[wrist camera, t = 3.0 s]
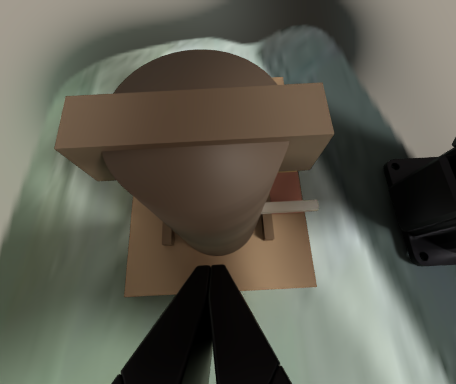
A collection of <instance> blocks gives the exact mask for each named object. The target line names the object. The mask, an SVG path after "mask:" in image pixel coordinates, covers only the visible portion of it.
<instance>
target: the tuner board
mask: <svg viewBox="0 0 456 384" xmlns="http://www.w3.org/2000/svg"><path fill="white" fill-rule="evenodd" d="M272 79H273V80H274V81H275V82H276V84H277V85H284V82H283V77H275V78H272ZM302 200H303V199H302V192H301V186H300V180H299V174H298V171H282V172H278V173H277V176H276V178H275V181H274V183H273V185H272V188H271V190H270V193H269V195H268V198H267V200H266V202H283V201H302ZM217 264H224V265H225V266H226V267H227V269H228V271H229V273H230V275H231V276H232V278H233V280H234V282H235V283H236V285H237V287H238V289H239V291H249V290H268V289H287V288H306V287H317V285H316V278H315V272H314V266H313V260H312V254H311V248H310V242H309V235H308V229H307V223H306V217H305V212H289V213H270V214H261V215H260V217H259V220H258V222H257V225H256V227H255V229H254V232H253V234H252V236H251V238H250V239H249V240H248V242H247V243H246V244H245V245H244V246H243V247H241V248H240V249H239V250H237V251H235V252H233V253H231V254H227V255H223V256H211V255H206V254H203V253H201V252H199V251H197V250H195V249H194V248H193V247H191V246H190V245H189V244H188V243H187V242H186V241H185V240H183V239H182V238H181V237H180V236H179V235H178V234H176V233H175V232H174V231H173V230H172V229H171V228H170V227H168V226H167V225H166V224H165V223H164V222H163V221H161V220H160V219H159V218H158V217H157V216H156V215H155V214H153V213H152V212H151V211H150V210H149V209H148V208H147V207H145V206H144V205H143V204H142V203H141V202H140V201H138V200H137V199H136V198H135V197H134V196H133V202H132V213H131V225H130V236H129V247H128V259H127V270H126V281H125V293H124V297H136V296H155V295H174V294H177V293H178V291H179V290H180V288H181V287H182V286H183V284H184V283H185V282H186V280H187V279H188V277H189V276H190V275H191V273H192V272H193V271H194V269H195V268H196V267H197V266H199V265H210V266H212V265H217Z"/></svg>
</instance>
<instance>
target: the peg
mask: <svg viewBox="0 0 456 384" xmlns="http://www.w3.org/2000/svg"><path fill="white" fill-rule="evenodd" d="M333 135H334V130H333V126H332V122H331V117H330V113H329V109H328V104H327V100H326V96H325V91H324V87H323V83H307V84H288V85H277V84H276V82H275V81H274V80H273V79H272V78H271V77H270V76H269V75H268V74H267V73H266V72H265V71H264V70H262V69H261V68H260V67H258V66H257V65H255V64H254V63H252V62H250V61H248V60H246V59H244V58H242V57H239V56H237V55H233V54H230V53H227V52H221V51H216V50H187V51H180V52H175V53H171V54H168V55H165V56H162V57H159V58H157V59H155V60H152V61H150V62H149V63H147V64H145V65H143V66H141V67H140V68H139V69H137V70H136V71H134V72H133V73H132V74H131V75H129V76H128V77H127V78H126V79H125V80H124V81H123V82H122V83H121V84H120V85H119V86H118V88H117V89H116V90H115V92H114V93H113V94H99V95H80V96H66V98H65V102H64V107H63V111H62V116H61V120H60V125H59V129H58V134H57V138H56V143H55V147H54V149H55V150H56V151H58V152H59V153H60V154H62V155H63V156H64V157H66V158H67V159H68V160H70V161H71V162H72V163H74V164H75V165H76V166H78V167H79V168H80V169H82V170H83V171H84V172H86V173H87V174H88V175H90V176H91V177H92V178H94V179H95V180H97V181H112V180H117V181H118V182H119V183H120V185H121V186H122V187H124V188H125V189H126V190H127V191H128V192H129V193H130V194H132V195H133V196H134V197H135V198H136V199H137V200H138V201H140V202H141V203H142V204H143V205H144V206H145V207H147V208H148V209H149V210H150V211H151V212H152V213H153V214H155V215H156V216H157V217H158V218H159V219H160V220H161V221H163V222H164V223H165V224H166V225H167V226H168V227H170V228H171V229H172V230H173V231H174V232H175V233H176V234H178V235H179V236H180V237H181V238H182V239H183V240H185V241H186V242H187V243H188V244H189V245H190V246H191V247H193V248H194V249H195V250H197V251H199V252H201V253H203V254H206V255H211V256H223V255H227V254H231V253H233V252H235V251H237V250H239V249H240V248H241V247H243V246H244V245H245V244H246V243H247V242H248V240H249V239H250V238H251V236H252V234H253V232H254V229H255V227H256V225H257V222H258V220H259V217H260V215H261V214H270V213H289V212H308V211H317V210H319V204H318V200H302V201H283V202H266V200H267V198H268V195H269V193H270V190H271V188H272V185H273V183H274V181H275V178H276V176H277V173H278V172H282V171H301V170H310V169H311V167H312V166H313V165H314V163H315V162H316V160H317V159H318V157H319V156H320V154H321V153H322V151H323V150H324V148H325V147H326V146H327V144H328V143H329V141H330V140H331V138H332V137H333Z"/></svg>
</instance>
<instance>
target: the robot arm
mask: <svg viewBox="0 0 456 384" xmlns="http://www.w3.org/2000/svg"><path fill="white" fill-rule="evenodd" d="M452 146H453V147H454V148H452V149H451V150H449V151H447V152H446V153H444V154H442V155H441V156H439V157H429V158H409V159H393V160H390V161H389V162H387V163H386V164H385V165H384V172H385V175H386V178H387V182H388V185H389V192H390V195H391V199H392V202H393V205H394V209H395V212H396V216H397V219H398V222H399V226H400V228H401V229H402V232H403V236H404V239H405V243H406V246H407V249H408V253H409V256H410V259H411V261H412V262H413V263H414V264H415V265H417V266H438V265H456V138H455V139H454V141H453V143H452ZM391 166H394V167H395V169H396V170H394V169H393V168H392V167H391ZM419 254H422V255H423V261H422V260H421V259H420V257H419ZM212 347H213V354H214V364H215V374H216V384H292V383H291V381H290V379H289V377H288V376H287V374H286V372H285V370H284V368H283V367H282V366H280V362H279V360H278V358H277V356H276V355H275V353H274V351H273V349H272V347H271V346H270V344H269V342H268V340H267V339H266V337H265V335H264V333H263V331H262V330H261V328H260V326H259V324H258V323H257V321H256V319H255V317H254V315H253V314H252V312H251V310H250V308H249V307H248V305H247V303H246V301H245V299H244V298H243V296H242V294H241V292H240V291H239V289H238V287H237V285H236V283H235V282H234V280H233V278H232V276H231V275H230V273H229V271H228V269H227V267H226V266H225V265H224V264H217V265H212V266H210V265H199V266H197V267H196V268H195V269H194V271H193V272H192V273H191V275H190V276H189V277H188V279H187V280H186V282H185V283H184V284H183V286H182V287H181V288H180V290H179V291H178V293H177V294H176V295H175V297H174V298H173V300H172V301H171V302H170V304H169V305H168V306H167V308H166V309H165V311H164V312H163V313H162V315H161V316H160V318H159V319H158V320H157V322H156V323H155V324H154V326H153V327H152V329H151V330H150V331H149V333H148V334H147V335H146V337H145V338H144V340H143V341H142V342H141V344H140V345H139V347H138V348H137V349H136V351H135V352H134V353H133V355H132V356H131V358H130V359H129V360H128V362H127V363H126V364H125V366H124V367H123V369H122V370H121V374H118V375H117V377H116V378H115V379H114V381H113V382H112V384H208V383H209V375H210V366H211V357H212Z"/></svg>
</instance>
